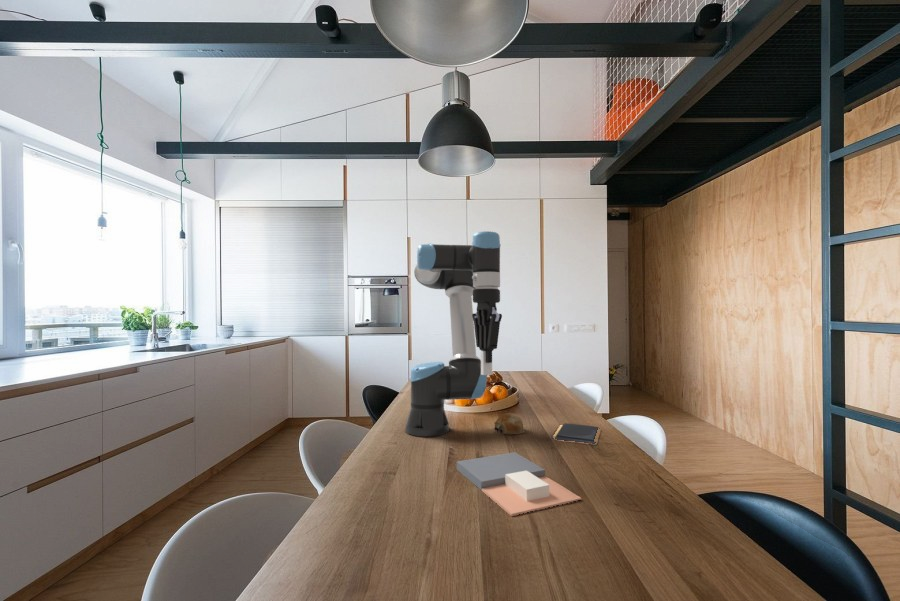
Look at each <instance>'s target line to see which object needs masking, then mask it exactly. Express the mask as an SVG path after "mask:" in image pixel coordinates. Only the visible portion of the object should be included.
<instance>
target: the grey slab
mask: <svg viewBox="0 0 900 601" xmlns="http://www.w3.org/2000/svg"><path fill="white" fill-rule="evenodd" d="M456 471H458V472H459V473H461V475H463V476H464V477H465V478H466V479H467V480H468V481H470V482H471V483H472V484H473V485H474V486H476V488H478V489H479V490H480V491H482V488H487V487H492V486H498V485H503V484H505V474H510V473H516V472H521V471H528V472H530V473H531V474H533V475H535V476H536V477H538V478H539V477H544V476H546V469H544V468H543V467H542V466H541V467H540V465H538V464H536V463H534V462H532V461H531V460H529V459H527V458H525V457H524V456H522V455H521V454H520V453H517V452H514V451H513V452H508V453H502V454H501V453H500V454H497V455H496V454H495V455H489V456H484V457H483V456H482V457H477V458H471V459H464V460H457V461H456Z"/></svg>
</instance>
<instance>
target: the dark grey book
mask: <svg viewBox="0 0 900 601" xmlns="http://www.w3.org/2000/svg"><path fill="white" fill-rule="evenodd" d="M562 424H563V425H560V424H559V425H560V426H559V425H558V426H559V428H558V427H557V428H558V429H557V428H556V429H557V431H556V430H555V431H556V432H555V431H554V432H555V434H554V433H553V434H554V435H553V434H552V435H551V436H550V438H551V439H554V438H553V437H555V439H557V440H564V441H575V442H584V443H592V444H595V443H596V442H594V439H595V436H596V433H597V430H598V428H599V427H598V426H594V425H585V424H575V423H566V422H565V423H562ZM599 429H601V428H599ZM557 440H556V441H557Z"/></svg>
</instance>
